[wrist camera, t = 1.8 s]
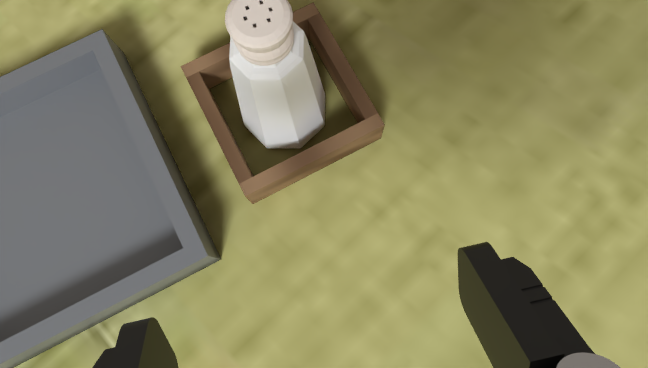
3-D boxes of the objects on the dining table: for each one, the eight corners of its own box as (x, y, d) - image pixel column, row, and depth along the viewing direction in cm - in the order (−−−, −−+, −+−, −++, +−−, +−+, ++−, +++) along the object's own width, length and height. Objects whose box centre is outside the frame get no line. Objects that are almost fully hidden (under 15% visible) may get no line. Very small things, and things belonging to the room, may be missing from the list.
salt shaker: (309, 58, 31) (296, -63, 21) (341, 133, 30) (344, 46, 19) (230, 88, 31) (174, -18, 20) (259, 165, 30) (216, 95, 19)
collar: (314, 24, 32) (313, 2, 29) (380, 138, 30) (384, 124, 28) (192, 83, 31) (180, 66, 29) (252, 204, 29) (245, 196, 27)
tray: (123, 53, 32) (102, 29, 29) (221, 259, 29) (208, 255, 26) (-96, 157, 30) (-142, 143, 28) (-18, 383, 28) (-61, 395, 25)
